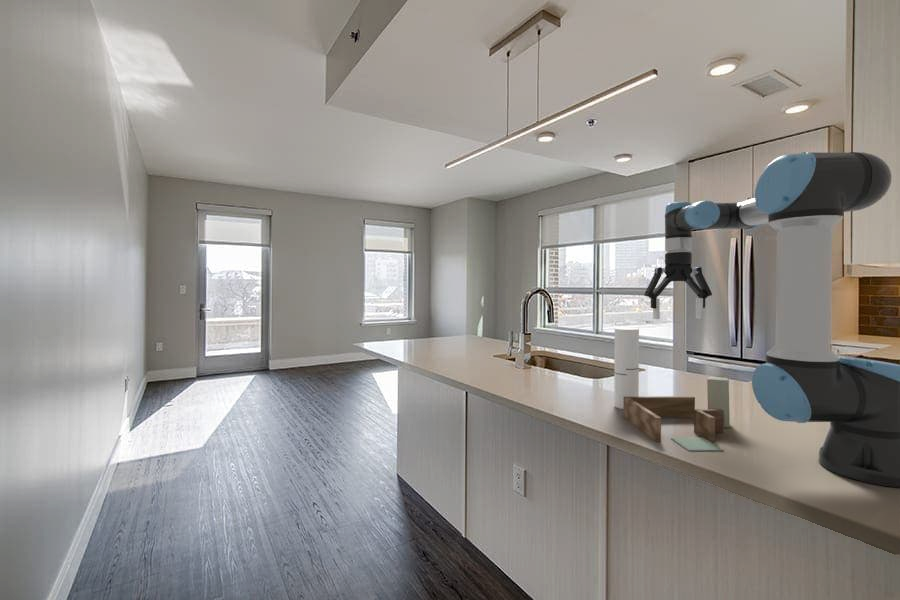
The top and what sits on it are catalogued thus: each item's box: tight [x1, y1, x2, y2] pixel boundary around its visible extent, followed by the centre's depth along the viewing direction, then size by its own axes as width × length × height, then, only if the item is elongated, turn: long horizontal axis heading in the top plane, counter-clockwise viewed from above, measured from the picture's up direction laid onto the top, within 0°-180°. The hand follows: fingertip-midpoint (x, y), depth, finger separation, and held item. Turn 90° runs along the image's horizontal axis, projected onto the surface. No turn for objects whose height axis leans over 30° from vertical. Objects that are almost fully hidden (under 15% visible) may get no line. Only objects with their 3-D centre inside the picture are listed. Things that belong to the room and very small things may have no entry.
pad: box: [670, 437, 724, 452], centre depth 102 cm, size 8×8×1 cm
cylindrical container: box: [613, 327, 640, 410], centre depth 135 cm, size 7×7×25 cm
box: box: [706, 376, 731, 428], centre depth 117 cm, size 5×4×13 cm
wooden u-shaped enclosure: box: [623, 395, 725, 443], centre depth 114 cm, size 20×20×6 cm
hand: (677, 318), depth 135 cm, fingers open, 13 cm apart
